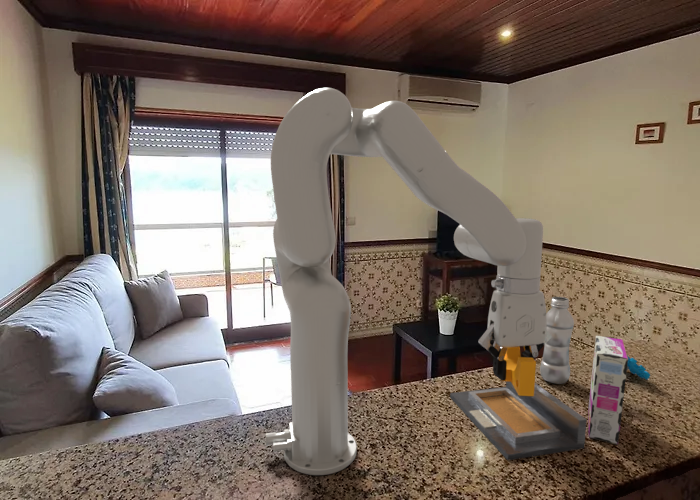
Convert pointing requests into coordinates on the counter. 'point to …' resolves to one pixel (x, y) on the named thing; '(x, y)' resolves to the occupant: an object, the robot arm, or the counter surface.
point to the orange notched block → (520, 371)
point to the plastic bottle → (557, 342)
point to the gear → (637, 369)
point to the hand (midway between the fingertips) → (513, 374)
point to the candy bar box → (607, 389)
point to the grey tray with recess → (523, 421)
